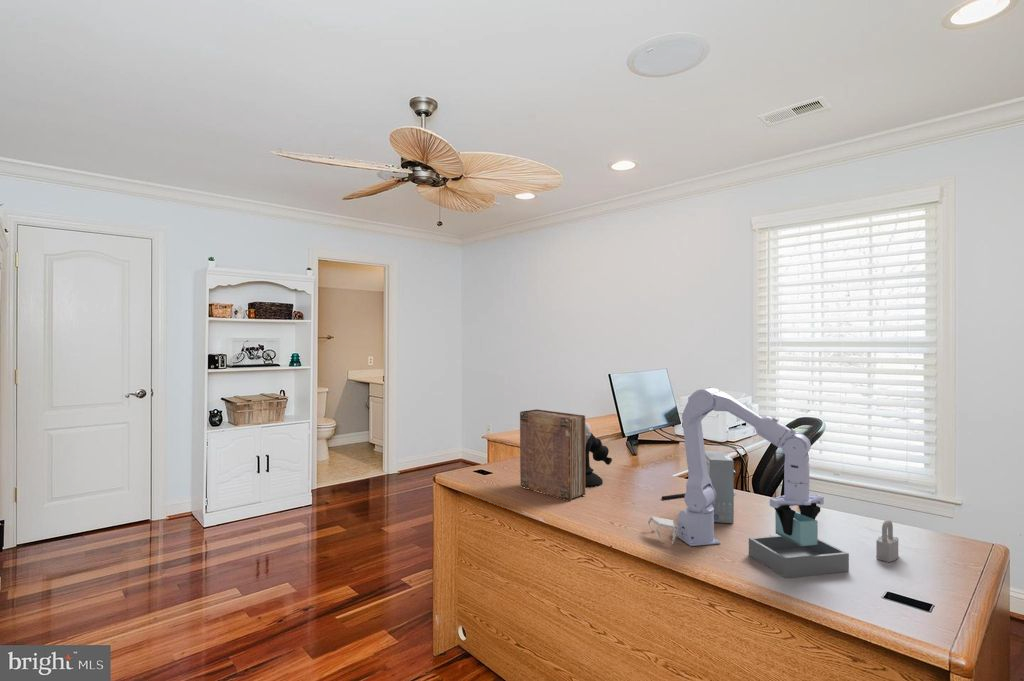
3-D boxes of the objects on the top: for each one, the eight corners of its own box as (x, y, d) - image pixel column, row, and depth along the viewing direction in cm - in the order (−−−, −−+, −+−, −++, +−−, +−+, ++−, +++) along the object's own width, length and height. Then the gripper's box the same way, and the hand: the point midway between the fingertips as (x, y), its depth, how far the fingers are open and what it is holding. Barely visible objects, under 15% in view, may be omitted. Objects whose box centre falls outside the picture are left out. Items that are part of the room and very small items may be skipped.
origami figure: (689, 539, 151) (688, 522, 151) (673, 546, 146) (672, 529, 146) (653, 527, 160) (653, 512, 160) (637, 534, 155) (637, 518, 155)
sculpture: (557, 481, 212) (557, 420, 212) (595, 472, 227) (595, 415, 227) (585, 489, 201) (585, 425, 201) (623, 479, 216) (623, 419, 216)
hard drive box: (734, 524, 163) (734, 461, 163) (708, 522, 164) (708, 460, 164) (724, 508, 178) (724, 450, 178) (701, 507, 179) (700, 449, 179)
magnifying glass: (652, 496, 194) (652, 490, 194) (717, 487, 205) (717, 482, 205) (674, 506, 182) (674, 501, 182) (743, 497, 193) (743, 491, 193)
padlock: (883, 551, 142) (883, 515, 142) (901, 556, 138) (901, 519, 138) (873, 558, 137) (873, 520, 137) (891, 563, 134) (891, 525, 134)
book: (586, 496, 192) (585, 415, 192) (570, 501, 186) (570, 418, 186) (536, 482, 211) (535, 409, 211) (520, 487, 204) (519, 411, 204)
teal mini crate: (800, 546, 130) (800, 522, 130) (775, 533, 139) (775, 510, 139) (817, 544, 131) (817, 520, 131) (791, 531, 140) (791, 509, 140)
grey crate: (785, 578, 126) (785, 559, 126) (748, 554, 140) (748, 538, 140) (848, 571, 130) (848, 553, 130) (806, 549, 143) (806, 532, 143)
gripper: (783, 486, 129) (783, 541, 129) (833, 483, 132) (833, 536, 132) (764, 479, 136) (764, 531, 136) (811, 476, 139) (812, 526, 139)
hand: (796, 533), depth 135 cm, fingers closed on teal mini crate, 5 cm apart
